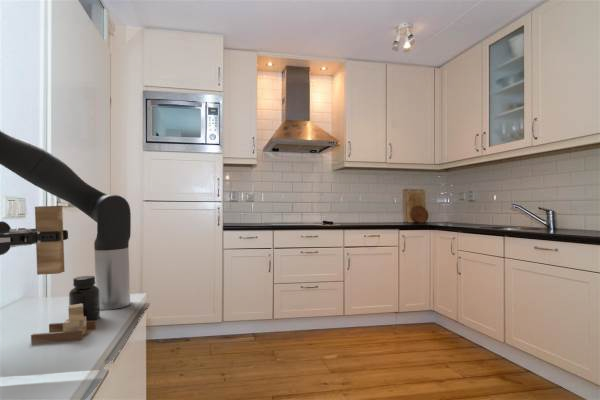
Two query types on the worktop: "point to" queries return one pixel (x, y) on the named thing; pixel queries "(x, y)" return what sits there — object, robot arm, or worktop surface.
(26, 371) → the worktop surface
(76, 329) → the pine offcut
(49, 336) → the walnut rack
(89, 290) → the supplement bottle
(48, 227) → the oak board
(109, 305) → the robot arm
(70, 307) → the small pine offcut
